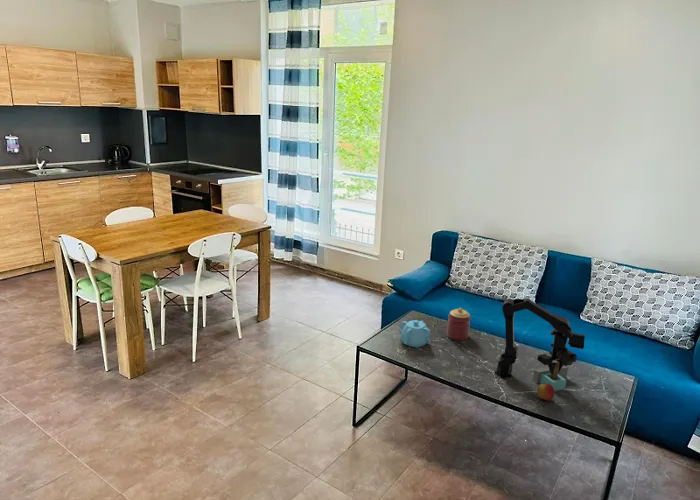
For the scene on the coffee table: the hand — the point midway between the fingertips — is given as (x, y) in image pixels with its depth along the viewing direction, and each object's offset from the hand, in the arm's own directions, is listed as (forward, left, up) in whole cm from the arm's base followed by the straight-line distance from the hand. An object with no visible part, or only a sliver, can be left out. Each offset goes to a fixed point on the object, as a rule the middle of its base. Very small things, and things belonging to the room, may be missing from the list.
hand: (554, 373), depth 238 cm
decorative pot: (-46, +59, -7) cm, 75 cm away
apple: (-12, -9, -7) cm, 16 cm away
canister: (-17, +61, -7) cm, 63 cm away
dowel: (0, 0, -4) cm, 4 cm away
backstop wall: (+3, +6, -7) cm, 9 cm away
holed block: (0, 0, -7) cm, 7 cm away
